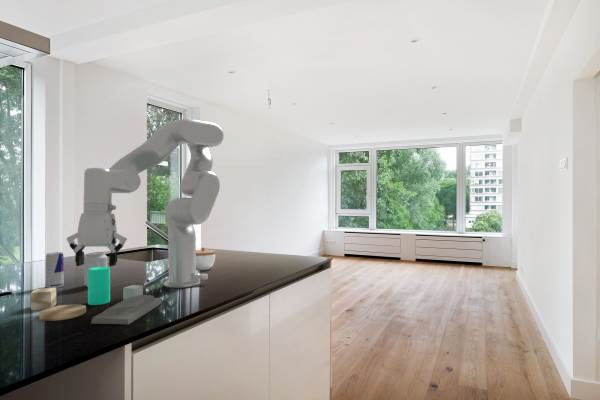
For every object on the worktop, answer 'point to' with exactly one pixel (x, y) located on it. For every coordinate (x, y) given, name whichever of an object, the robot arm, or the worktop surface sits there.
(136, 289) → the grey stone block
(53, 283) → the energy drink
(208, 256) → the lidded jar
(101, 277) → the candle
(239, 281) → the worktop surface
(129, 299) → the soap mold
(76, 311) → the disc
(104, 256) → the can
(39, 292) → the maple cube
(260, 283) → the worktop surface
